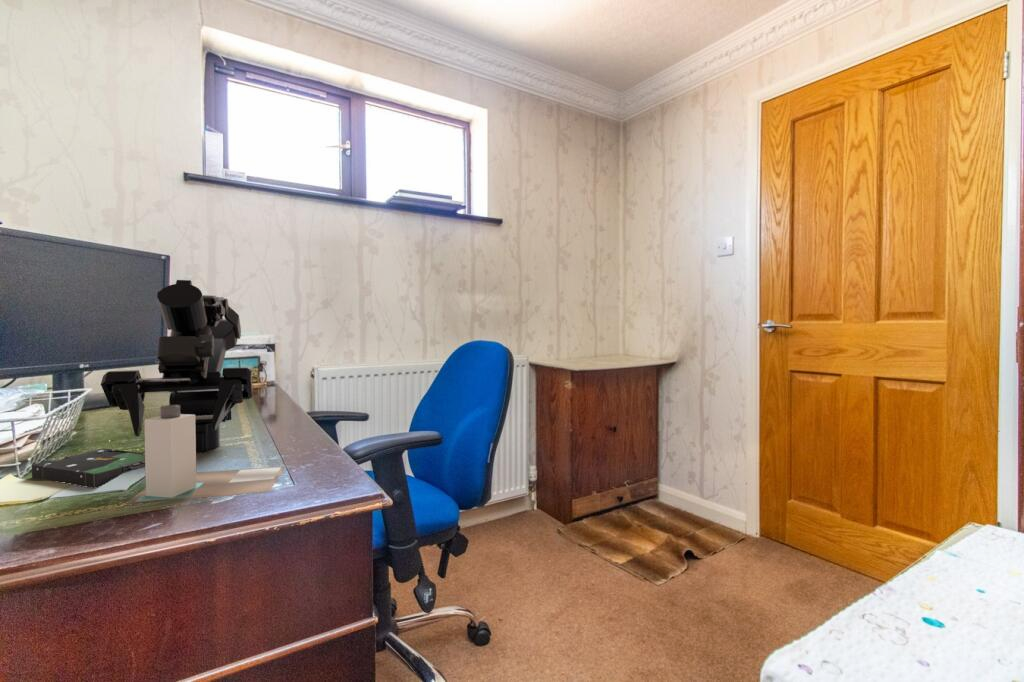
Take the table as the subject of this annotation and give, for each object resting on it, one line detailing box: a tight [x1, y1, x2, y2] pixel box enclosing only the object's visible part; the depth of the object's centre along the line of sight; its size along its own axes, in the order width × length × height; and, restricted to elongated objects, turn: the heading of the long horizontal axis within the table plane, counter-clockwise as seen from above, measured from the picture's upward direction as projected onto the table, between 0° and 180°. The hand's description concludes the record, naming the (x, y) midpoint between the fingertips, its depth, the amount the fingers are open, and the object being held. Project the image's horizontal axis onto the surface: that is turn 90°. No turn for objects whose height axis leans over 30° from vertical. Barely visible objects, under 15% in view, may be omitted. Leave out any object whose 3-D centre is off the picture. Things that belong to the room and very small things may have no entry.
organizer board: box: [124, 465, 286, 505], centre depth 67 cm, size 12×17×1 cm
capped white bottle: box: [144, 404, 197, 498], centre depth 63 cm, size 4×4×12 cm
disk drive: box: [31, 448, 145, 489], centre depth 75 cm, size 10×3×15 cm
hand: (176, 431), depth 67 cm, fingers open, 9 cm apart
